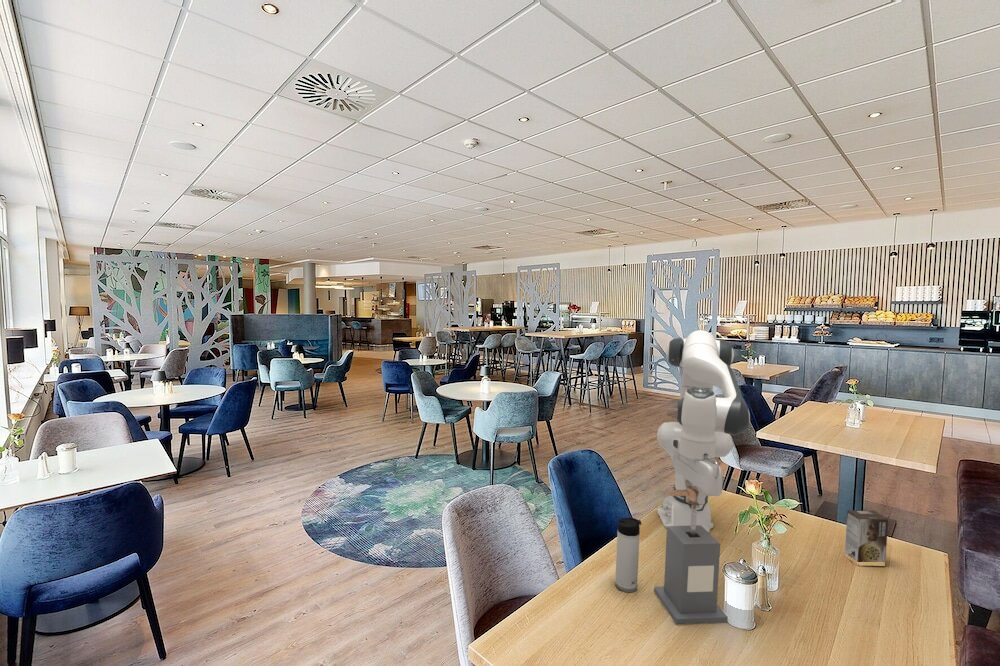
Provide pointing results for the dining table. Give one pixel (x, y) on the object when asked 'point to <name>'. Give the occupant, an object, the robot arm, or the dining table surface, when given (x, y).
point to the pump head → (691, 499)
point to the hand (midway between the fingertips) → (694, 498)
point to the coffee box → (866, 536)
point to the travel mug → (627, 554)
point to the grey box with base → (691, 577)
